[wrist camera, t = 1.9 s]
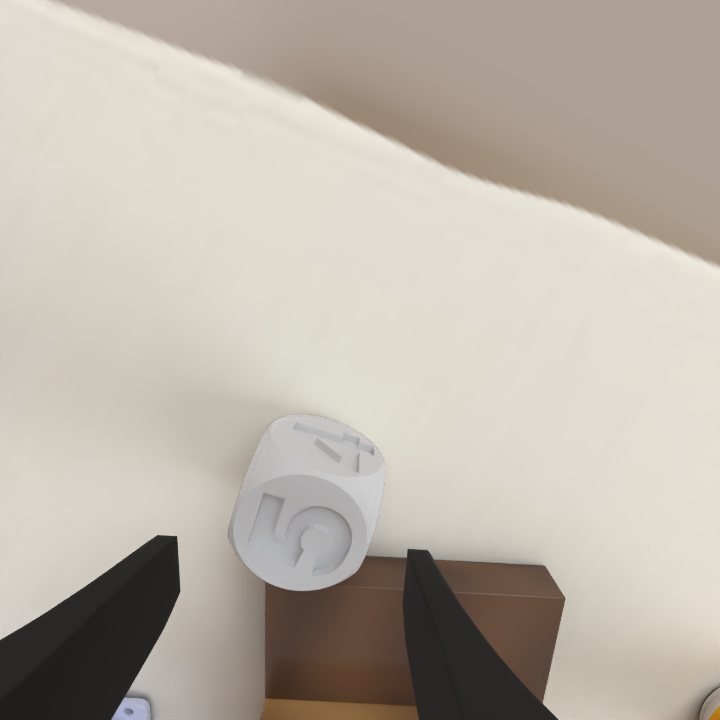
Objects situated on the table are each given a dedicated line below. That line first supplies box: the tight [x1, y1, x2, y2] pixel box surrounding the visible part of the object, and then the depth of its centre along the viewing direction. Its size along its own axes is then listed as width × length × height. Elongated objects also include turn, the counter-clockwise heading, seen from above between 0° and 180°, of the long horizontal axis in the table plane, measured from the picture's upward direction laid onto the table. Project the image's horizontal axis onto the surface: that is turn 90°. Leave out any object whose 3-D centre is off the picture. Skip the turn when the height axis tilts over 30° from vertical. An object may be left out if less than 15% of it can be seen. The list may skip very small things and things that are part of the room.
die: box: [228, 414, 385, 591], centre depth 15 cm, size 5×5×5 cm
